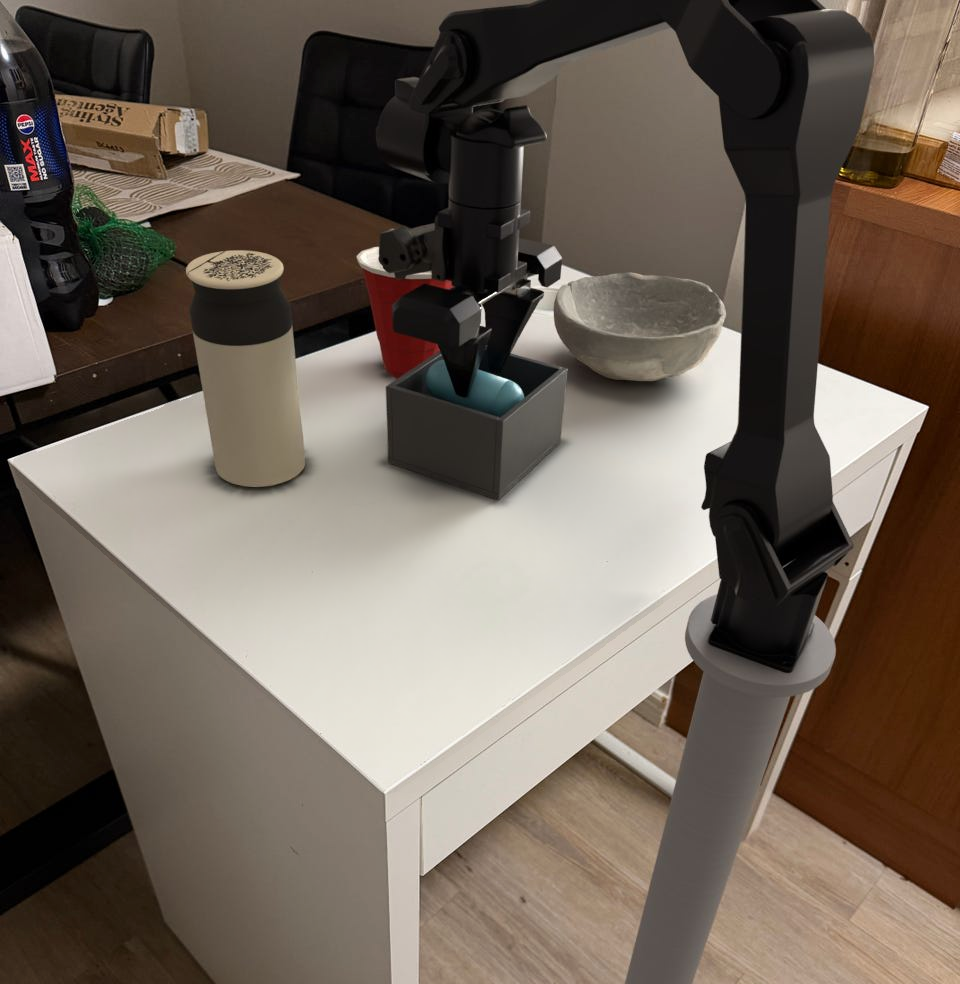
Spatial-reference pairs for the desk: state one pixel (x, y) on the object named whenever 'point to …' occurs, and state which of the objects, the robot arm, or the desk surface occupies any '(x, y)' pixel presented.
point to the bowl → (638, 324)
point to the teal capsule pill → (475, 391)
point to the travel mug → (247, 366)
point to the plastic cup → (383, 293)
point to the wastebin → (476, 428)
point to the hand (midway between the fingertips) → (478, 383)
